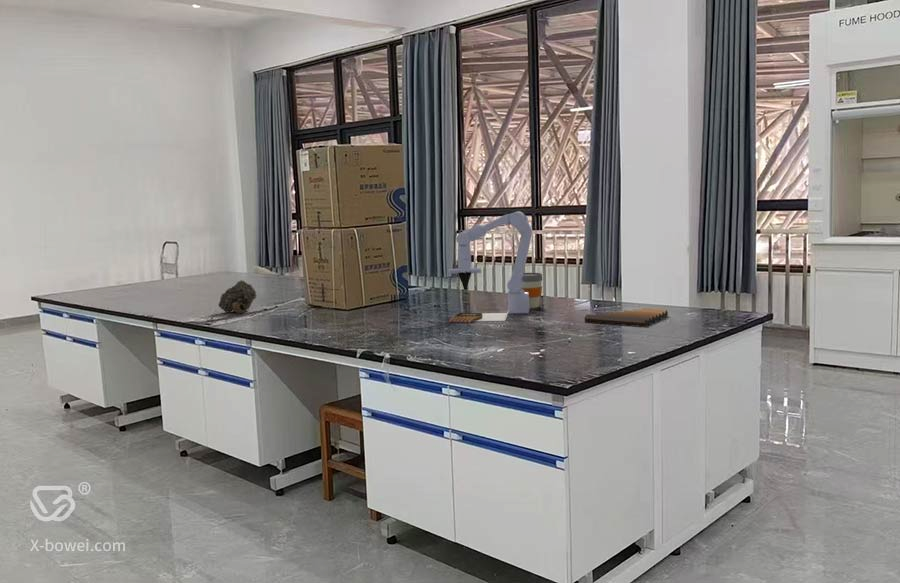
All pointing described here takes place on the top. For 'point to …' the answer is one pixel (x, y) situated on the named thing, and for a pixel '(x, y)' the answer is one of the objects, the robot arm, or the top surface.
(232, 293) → the rock
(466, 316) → the ammunition clip
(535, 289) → the reusable coffee cup
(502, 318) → the mat
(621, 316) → the pan flute
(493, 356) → the top surface
